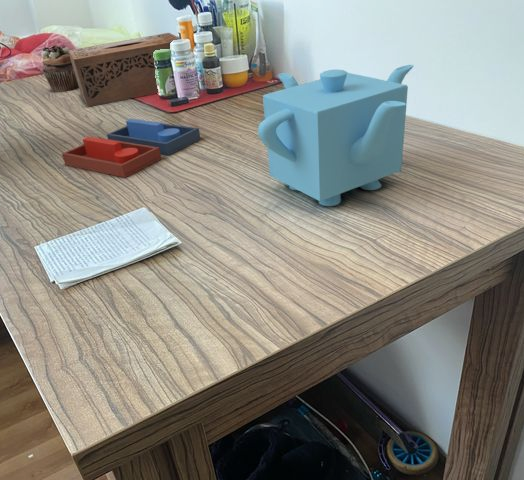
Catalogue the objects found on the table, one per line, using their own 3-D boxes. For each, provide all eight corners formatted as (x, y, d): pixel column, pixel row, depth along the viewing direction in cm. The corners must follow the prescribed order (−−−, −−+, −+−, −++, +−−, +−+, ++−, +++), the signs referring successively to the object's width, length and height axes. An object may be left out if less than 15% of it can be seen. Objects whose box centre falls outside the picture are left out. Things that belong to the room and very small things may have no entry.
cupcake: (91, 83, 141) (79, 41, 134) (68, 93, 134) (54, 49, 128) (65, 83, 144) (52, 42, 138) (41, 92, 138) (26, 50, 132)
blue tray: (109, 145, 97) (106, 134, 96) (141, 130, 102) (139, 120, 101) (168, 155, 90) (166, 143, 88) (200, 139, 95) (199, 128, 93)
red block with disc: (82, 158, 91) (76, 141, 89) (99, 151, 94) (94, 134, 92) (128, 168, 85) (123, 149, 83) (145, 159, 88) (141, 141, 86)
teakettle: (258, 214, 68) (245, 95, 59) (283, 161, 82) (276, 58, 72) (404, 215, 64) (415, 87, 55) (405, 159, 78) (414, 49, 68)
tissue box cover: (177, 75, 138) (169, 32, 131) (191, 86, 127) (183, 39, 121) (81, 94, 132) (67, 50, 125) (87, 106, 121) (73, 59, 115)
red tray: (65, 164, 91) (61, 153, 90) (102, 148, 96) (99, 137, 95) (125, 177, 83) (121, 165, 82) (161, 159, 89) (159, 147, 87)
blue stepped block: (124, 139, 97) (120, 123, 96) (140, 132, 100) (136, 116, 98) (170, 147, 91) (167, 129, 89) (185, 139, 94) (182, 122, 92)
